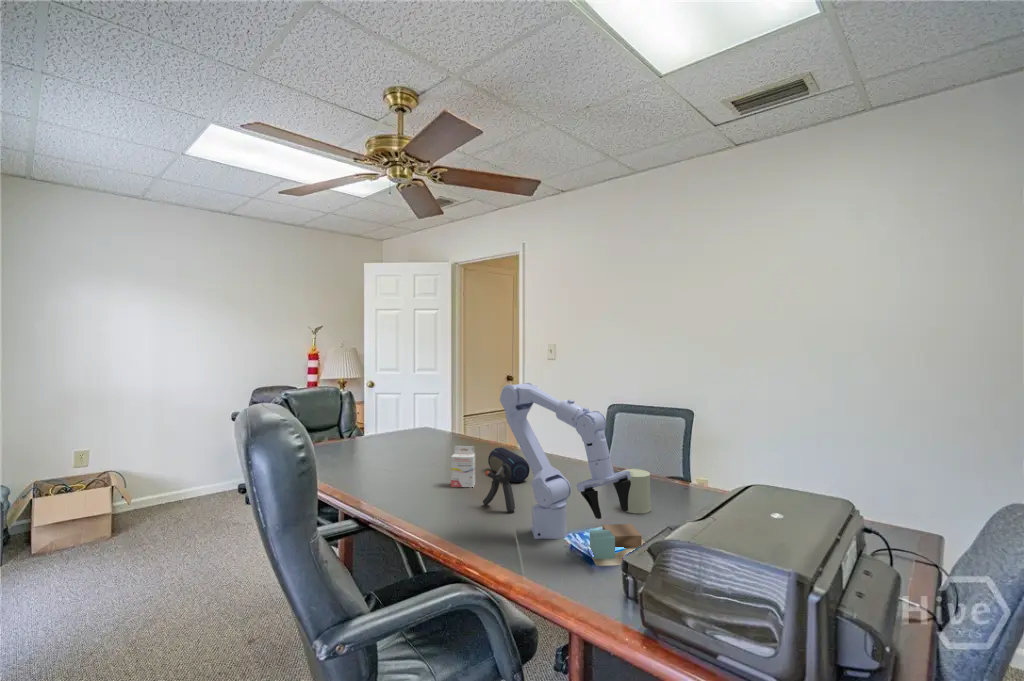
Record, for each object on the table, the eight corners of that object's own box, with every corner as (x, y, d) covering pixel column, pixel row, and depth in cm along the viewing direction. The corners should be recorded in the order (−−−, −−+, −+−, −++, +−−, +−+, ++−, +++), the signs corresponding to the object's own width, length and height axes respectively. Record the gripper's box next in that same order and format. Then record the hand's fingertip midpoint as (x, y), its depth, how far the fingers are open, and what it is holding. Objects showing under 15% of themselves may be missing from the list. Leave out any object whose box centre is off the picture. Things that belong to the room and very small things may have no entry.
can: (615, 508, 154) (615, 471, 154) (631, 502, 160) (630, 466, 160) (641, 515, 147) (640, 476, 147) (656, 508, 154) (655, 471, 154)
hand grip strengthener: (486, 504, 159) (486, 459, 160) (515, 512, 151) (515, 464, 152) (481, 505, 158) (481, 460, 158) (511, 514, 150) (510, 466, 150)
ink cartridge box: (450, 488, 178) (450, 448, 178) (453, 484, 182) (453, 445, 183) (473, 488, 177) (473, 448, 177) (475, 484, 182) (475, 445, 182)
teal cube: (594, 559, 116) (594, 538, 116) (589, 550, 121) (589, 530, 121) (615, 558, 116) (614, 537, 116) (609, 549, 121) (609, 529, 121)
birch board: (596, 570, 112) (596, 565, 112) (579, 539, 130) (579, 535, 130) (662, 567, 113) (662, 563, 113) (637, 536, 131) (637, 533, 131)
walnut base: (610, 548, 122) (610, 536, 122) (602, 536, 130) (602, 524, 130) (641, 547, 122) (641, 535, 122) (631, 534, 130) (631, 523, 130)
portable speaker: (485, 470, 202) (485, 446, 202) (507, 467, 206) (506, 444, 206) (508, 486, 179) (508, 459, 179) (532, 483, 183) (532, 457, 183)
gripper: (580, 465, 116) (593, 523, 114) (631, 453, 121) (645, 508, 118) (568, 465, 122) (580, 520, 120) (617, 453, 127) (630, 506, 125)
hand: (611, 514), depth 120 cm, fingers open, 7 cm apart
